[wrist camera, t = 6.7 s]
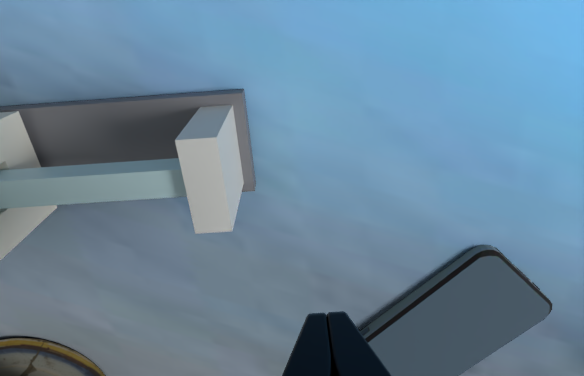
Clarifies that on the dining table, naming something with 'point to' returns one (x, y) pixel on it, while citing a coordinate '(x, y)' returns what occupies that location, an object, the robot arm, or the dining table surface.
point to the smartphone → (457, 317)
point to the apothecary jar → (42, 359)
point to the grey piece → (138, 154)
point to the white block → (17, 155)
